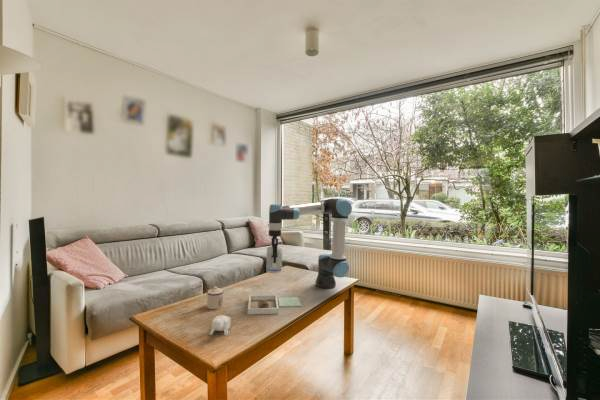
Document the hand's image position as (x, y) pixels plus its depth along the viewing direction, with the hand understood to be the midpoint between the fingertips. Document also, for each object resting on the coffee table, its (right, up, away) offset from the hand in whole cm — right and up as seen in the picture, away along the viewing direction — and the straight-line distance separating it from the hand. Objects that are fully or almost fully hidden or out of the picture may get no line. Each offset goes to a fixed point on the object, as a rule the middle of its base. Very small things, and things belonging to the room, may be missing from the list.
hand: (274, 265), depth 168 cm
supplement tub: (0, -4, 0) cm, 4 cm away
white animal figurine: (-22, -23, -38) cm, 50 cm away
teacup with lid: (-34, -22, -7) cm, 41 cm away
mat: (+9, -23, +1) cm, 25 cm away
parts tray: (-6, -23, -6) cm, 24 cm away
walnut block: (-5, -23, -12) cm, 26 cm away
